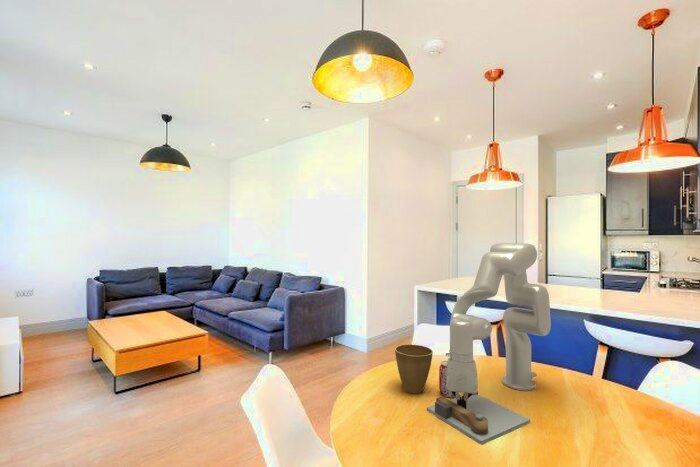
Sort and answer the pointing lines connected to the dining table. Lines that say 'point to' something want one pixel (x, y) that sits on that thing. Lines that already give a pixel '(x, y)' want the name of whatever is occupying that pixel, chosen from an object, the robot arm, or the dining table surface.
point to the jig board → (493, 416)
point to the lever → (466, 416)
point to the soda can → (443, 379)
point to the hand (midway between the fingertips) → (461, 410)
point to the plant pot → (413, 366)
